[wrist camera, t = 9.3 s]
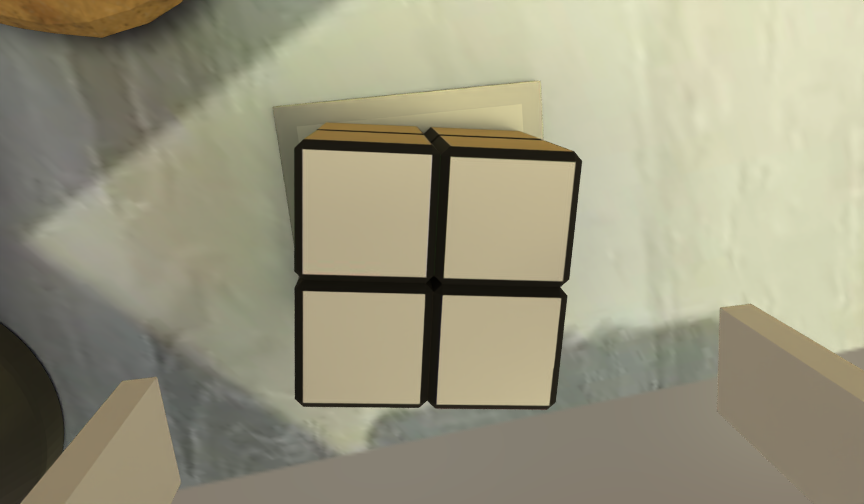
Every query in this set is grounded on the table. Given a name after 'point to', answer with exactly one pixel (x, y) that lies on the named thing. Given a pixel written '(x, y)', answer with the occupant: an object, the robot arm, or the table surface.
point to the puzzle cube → (431, 266)
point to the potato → (82, 15)
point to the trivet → (412, 116)
